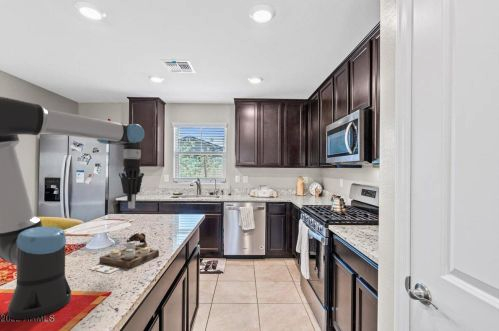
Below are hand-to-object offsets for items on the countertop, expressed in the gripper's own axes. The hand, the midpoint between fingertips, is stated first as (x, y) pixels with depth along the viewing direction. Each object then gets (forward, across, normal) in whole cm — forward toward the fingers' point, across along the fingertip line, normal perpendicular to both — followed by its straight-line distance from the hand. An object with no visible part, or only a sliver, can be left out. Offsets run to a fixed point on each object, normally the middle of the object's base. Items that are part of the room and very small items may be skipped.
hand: (131, 208), depth 120 cm
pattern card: (+24, -13, 0) cm, 28 cm away
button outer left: (+22, +5, +5) cm, 23 cm away
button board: (+24, 0, 0) cm, 24 cm away
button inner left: (+24, -4, +5) cm, 24 cm away
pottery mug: (+24, +17, +13) cm, 32 cm away
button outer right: (+24, +5, -4) cm, 24 cm away
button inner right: (+22, -4, -4) cm, 22 cm away
